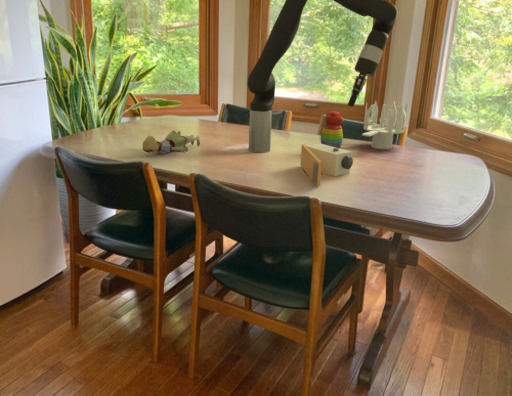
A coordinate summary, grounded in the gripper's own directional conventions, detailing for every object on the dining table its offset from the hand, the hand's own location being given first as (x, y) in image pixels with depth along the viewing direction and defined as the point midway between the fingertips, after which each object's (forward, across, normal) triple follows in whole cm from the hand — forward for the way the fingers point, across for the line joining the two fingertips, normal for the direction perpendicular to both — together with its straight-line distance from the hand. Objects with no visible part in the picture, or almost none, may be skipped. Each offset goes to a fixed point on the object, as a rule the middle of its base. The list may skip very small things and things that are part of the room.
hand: (350, 106), depth 170 cm
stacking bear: (+18, +27, +2) cm, 33 cm away
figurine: (+42, +7, +62) cm, 75 cm away
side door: (+28, -11, +4) cm, 31 cm away
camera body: (+25, 0, 0) cm, 25 cm away
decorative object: (+10, +42, -16) cm, 46 cm away
